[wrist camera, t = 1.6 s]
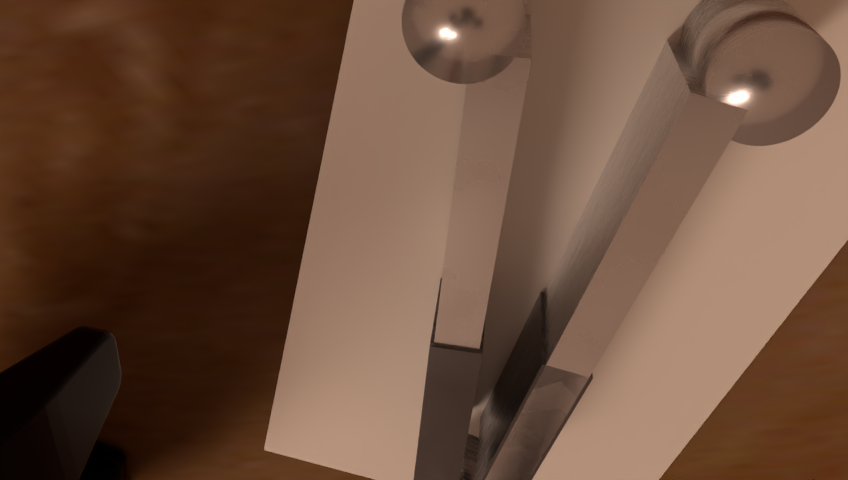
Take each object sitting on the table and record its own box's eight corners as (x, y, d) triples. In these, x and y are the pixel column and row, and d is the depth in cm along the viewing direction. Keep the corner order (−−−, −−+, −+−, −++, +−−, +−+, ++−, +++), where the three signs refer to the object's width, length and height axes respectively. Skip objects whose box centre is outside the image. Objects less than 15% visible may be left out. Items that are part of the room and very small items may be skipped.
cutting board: (607, 518, 28) (609, 541, 28) (271, 429, 28) (263, 449, 27) (1045, -60, 15) (1074, -49, 14) (414, -266, 14) (407, -266, 13)
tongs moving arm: (464, 418, 24) (457, 491, 22) (387, 406, 24) (371, 478, 22) (549, -65, 15) (553, -29, 13) (424, -80, 15) (404, -47, 13)
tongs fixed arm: (525, 485, 26) (524, 590, 23) (427, 459, 26) (413, 561, 23) (814, 1, 15) (891, 71, 12) (649, -52, 15) (682, 7, 12)
